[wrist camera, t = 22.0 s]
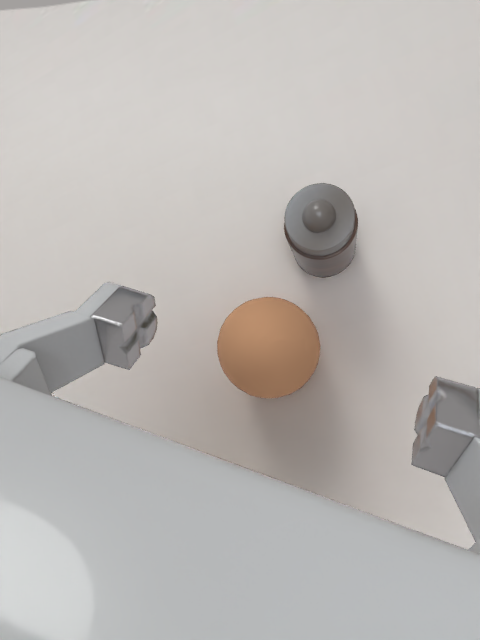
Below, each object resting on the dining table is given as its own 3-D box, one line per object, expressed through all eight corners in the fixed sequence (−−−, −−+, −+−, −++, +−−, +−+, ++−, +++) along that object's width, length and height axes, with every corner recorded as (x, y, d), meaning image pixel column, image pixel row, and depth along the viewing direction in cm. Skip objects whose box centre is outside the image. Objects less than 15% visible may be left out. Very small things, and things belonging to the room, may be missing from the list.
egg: (243, 301, 34) (208, 277, 25) (329, 313, 33) (324, 293, 24) (229, 385, 34) (188, 392, 25) (315, 402, 32) (304, 415, 23)
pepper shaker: (283, 263, 34) (265, 232, 26) (309, 209, 34) (299, 161, 26) (339, 287, 33) (337, 261, 25) (366, 231, 33) (372, 188, 25)
